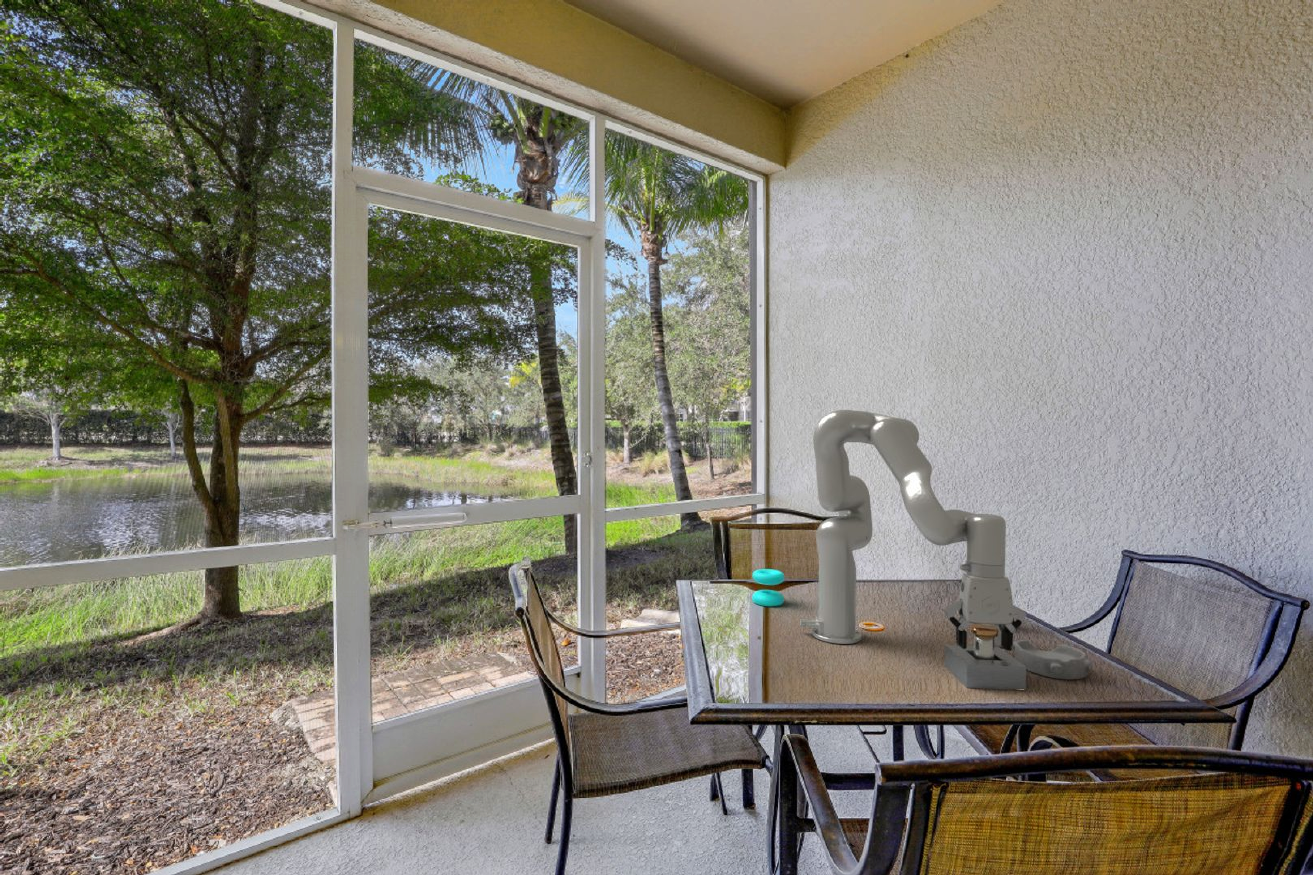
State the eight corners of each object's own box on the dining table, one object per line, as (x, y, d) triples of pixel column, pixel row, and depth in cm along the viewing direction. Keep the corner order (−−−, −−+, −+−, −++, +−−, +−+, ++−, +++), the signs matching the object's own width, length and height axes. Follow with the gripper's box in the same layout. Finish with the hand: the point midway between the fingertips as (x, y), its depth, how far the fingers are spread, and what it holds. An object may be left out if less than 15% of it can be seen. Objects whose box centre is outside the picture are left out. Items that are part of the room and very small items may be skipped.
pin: (976, 682, 132) (977, 631, 132) (965, 672, 138) (966, 623, 137) (1001, 683, 132) (1002, 632, 132) (990, 673, 137) (991, 624, 137)
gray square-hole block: (966, 687, 129) (967, 664, 129) (944, 666, 141) (945, 644, 141) (1025, 690, 128) (1026, 667, 128) (998, 668, 140) (999, 647, 140)
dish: (1003, 658, 148) (1003, 637, 148) (1061, 659, 147) (1061, 639, 147) (1038, 682, 133) (1039, 659, 133) (1103, 684, 133) (1104, 661, 133)
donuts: (788, 575, 187) (757, 575, 186) (788, 607, 188) (756, 607, 186) (778, 567, 197) (748, 568, 196) (778, 598, 197) (748, 598, 196)
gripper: (951, 572, 131) (950, 652, 132) (1035, 575, 130) (1033, 655, 130) (938, 565, 139) (937, 640, 139) (1017, 567, 137) (1016, 643, 138)
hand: (983, 647), depth 135 cm, fingers open, 9 cm apart
